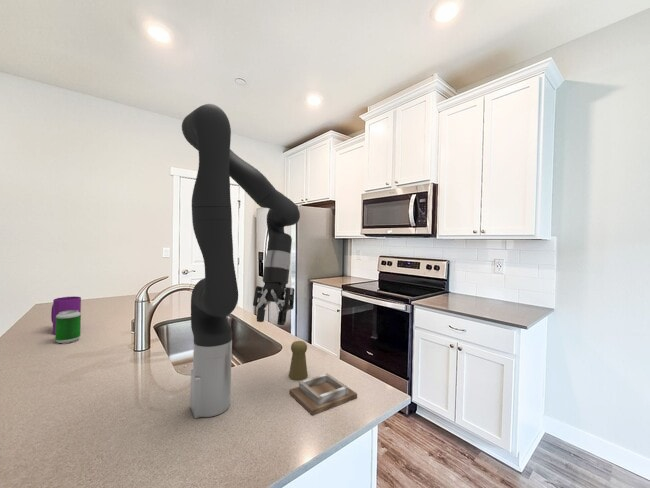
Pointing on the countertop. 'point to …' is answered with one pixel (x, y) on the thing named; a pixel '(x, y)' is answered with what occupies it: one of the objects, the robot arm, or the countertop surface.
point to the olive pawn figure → (298, 361)
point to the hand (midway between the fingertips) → (270, 323)
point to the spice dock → (321, 393)
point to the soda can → (68, 326)
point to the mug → (64, 307)
